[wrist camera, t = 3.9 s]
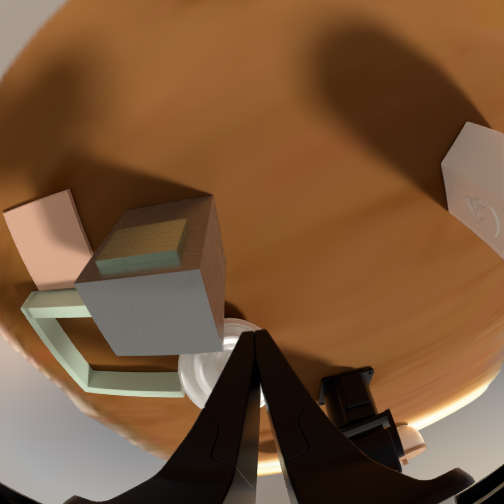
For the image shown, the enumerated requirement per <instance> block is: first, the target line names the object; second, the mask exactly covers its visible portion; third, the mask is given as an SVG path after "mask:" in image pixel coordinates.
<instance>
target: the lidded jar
mask: <svg viewBox="0 0 504 504" xmlns="http://www.w3.org/2000/svg"><path fill="white" fill-rule="evenodd" d="M396 428H397V431H398V434H399V436H400V439H401V443H402V446H403V449H404V453H405V456H404V457H401V458H399V461H400V463H402V462H403V465H407V464H408V461H407V460H409V459H410V458H413V457H414V456H416V455H418V454H420V453H421V452H423V451H424V450H425V449H426V445H425V443H424V441H423V438H422V436H421V434H420V433H419V432H418V431H417V430H416V429H415V428H413V427H410V426H408V425H401V426H398V427H396Z"/></svg>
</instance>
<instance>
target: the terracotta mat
mask: <svg viewBox="0 0 504 504" xmlns="http://www.w3.org/2000/svg"><path fill="white" fill-rule="evenodd" d="M3 215H4V217H5V220H6V222H7V225H8V227H9V230H10V232H11V235H12V237H13V239H14V242H15V244H16V246H17V248H18V251H19V253H20V255H21V257H22V259H23V261H24V263H25V265H26V267H27V269H28V271H29V273H30V275H31V277H32V279H33V281H34V282H35V284H36V286H37V288H38V290H39V291H43V290H54V289H64V288H74V287H75V286H74V282H75V281H76V279H77V278H78V276H79V275H80V273H81V272H82V270H83V269H84V267H85V266H86V264H87V263H88V261H89V260H90V258H91V257H92V256H93V254H94V253H93V251H92V249H91V246H90V244H89V241H88V239H87V236H86V233H85V231H84V228H83V226H82V223H81V220H80V217H79V214H78V212H77V209H76V206H75V203H74V200H73V197H72V194H71V191H70V189H68V190H65V191H62V192H58V193H55V194H52V195H49V196H47V197H44V198H41V199H38V200H35V201H32V202H30V203H27V204H24V205H22V206H19V207H16V208H14V209H11V210H9V211H6V212H5V213H4V214H3Z"/></svg>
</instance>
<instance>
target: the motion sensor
mask: <svg viewBox="0 0 504 504" xmlns="http://www.w3.org/2000/svg"><path fill="white" fill-rule="evenodd" d="M255 330H261V328H259V327H258V326H256V325H254V324H253V323H250V322H248V321H245V320H242V319H237V318H224V352H212V353H198V354H181V355H180V356H179V360H178V373H179V378H180V382H181V385H182V387H183V389H184V391H185V392H186V394H187V395H188V397H189V398H190V399H191V400H192V402H193V403H194V404H196V405H197V406H198V407H199V408H201V409H203V408H205V407H204V405H205V403H206V401H207V399H208V398H209V396H210V394H211V392H212V390H213V388H214V386H215V384H216V382H217V380H218V378H219V376H220V374H221V372H222V370H223V369H224V367H225V365H226V363H227V361H228V359H229V357H230V355H231V353H232V351H233V349H234V347H235V345H236V343H237V341H238V339H239V337H240V335H241V333H242V332H244V331H254V332H255ZM264 405H265V402H264V398H263V393H262V389H261V402H260V408H261V407H262V406H264Z"/></svg>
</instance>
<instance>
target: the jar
mask: <svg viewBox="0 0 504 504" xmlns="http://www.w3.org/2000/svg"><path fill="white" fill-rule="evenodd" d="M441 168H442V173H443V178H444V184H445V190H446V196H447V203H448V211H449V213H450V214H451V215H453V216H454V217H455V218H457V219H458V220H459V221H460V222H462V223H463V224H464V225H465V226H467V227H468V228H469V229H470V230H471V231H473V232H474V233H475V234H476V235H477V236H478V237H480V238H481V239H482V240H483V241H484V242H485V243H486V244H488V245H489V246H490V247H491V248H492V249H493V250H494V251H495V252H496V253H497V254H499V255H500V256H501V257H502V258H503V259H504V133H501V132H498V131H495V130H493V129H490V128H487V127H484V126H481V125H478V124H475V123H471V122H466V123H465V125H464V127H463V129H462V130H461V132H460V134H459V135H458V137H457V139H456V140H455V142H454V143H453V145H452V147H451V148H450V150H449V151H448V153H447V154H446V156H445V158H444V159H443V161H442V162H441Z"/></svg>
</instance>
